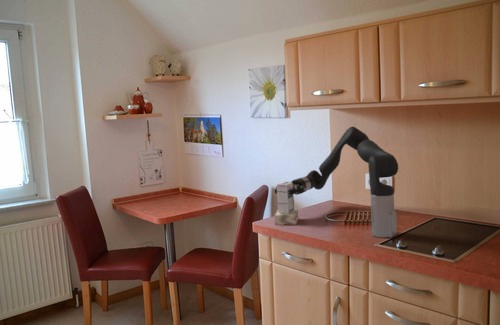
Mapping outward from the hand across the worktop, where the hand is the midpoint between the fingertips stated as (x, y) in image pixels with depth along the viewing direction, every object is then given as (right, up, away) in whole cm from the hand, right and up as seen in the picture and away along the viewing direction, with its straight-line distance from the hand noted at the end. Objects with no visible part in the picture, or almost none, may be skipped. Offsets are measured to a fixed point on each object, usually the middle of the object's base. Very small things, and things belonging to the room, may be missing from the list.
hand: (282, 192), depth 211 cm
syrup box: (+2, -10, +3) cm, 11 cm away
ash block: (+2, -15, +4) cm, 16 cm away
